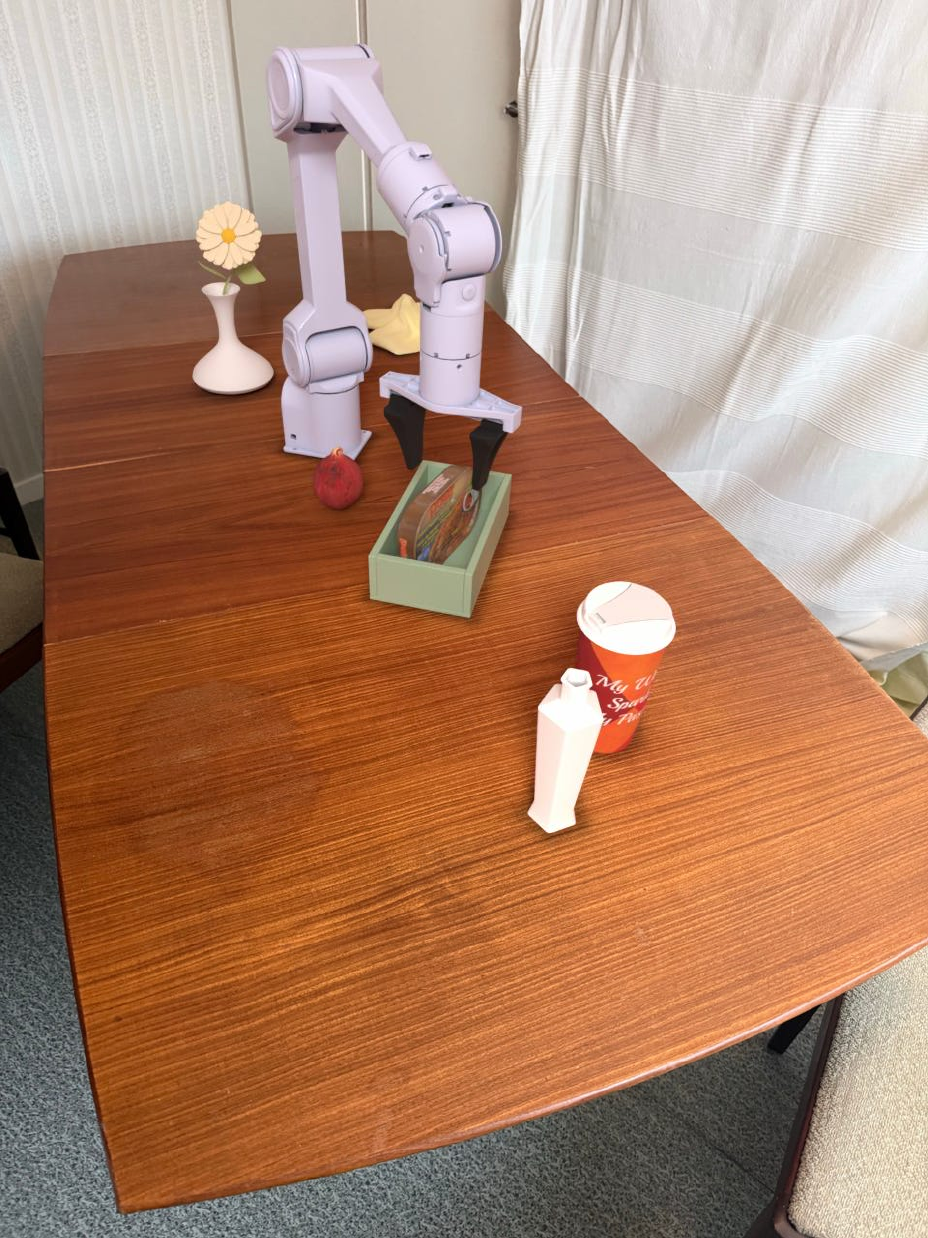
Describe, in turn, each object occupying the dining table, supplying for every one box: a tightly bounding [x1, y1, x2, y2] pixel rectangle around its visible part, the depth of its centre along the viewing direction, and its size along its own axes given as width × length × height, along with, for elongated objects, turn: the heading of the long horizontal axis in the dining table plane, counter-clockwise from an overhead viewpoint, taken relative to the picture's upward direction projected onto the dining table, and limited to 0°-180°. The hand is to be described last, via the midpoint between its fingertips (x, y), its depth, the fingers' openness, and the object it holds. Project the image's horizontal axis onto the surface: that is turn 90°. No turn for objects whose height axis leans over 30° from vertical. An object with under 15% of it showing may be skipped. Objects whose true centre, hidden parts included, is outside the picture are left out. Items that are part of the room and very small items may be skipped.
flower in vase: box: [191, 201, 275, 395], centre depth 113 cm, size 13×11×25 cm
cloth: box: [362, 293, 420, 356], centre depth 137 cm, size 22×19×6 cm
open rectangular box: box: [367, 459, 513, 619], centre depth 90 cm, size 11×20×6 cm, turn 166°
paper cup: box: [574, 581, 677, 754], centre depth 69 cm, size 8×8×14 cm
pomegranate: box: [312, 446, 365, 511], centre depth 95 cm, size 6×6×8 cm
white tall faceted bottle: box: [526, 667, 603, 834], centre depth 61 cm, size 5×4×15 cm
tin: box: [397, 464, 482, 565], centre depth 89 cm, size 15×3×8 cm, turn 152°
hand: (446, 475), depth 85 cm, fingers open, 7 cm apart
